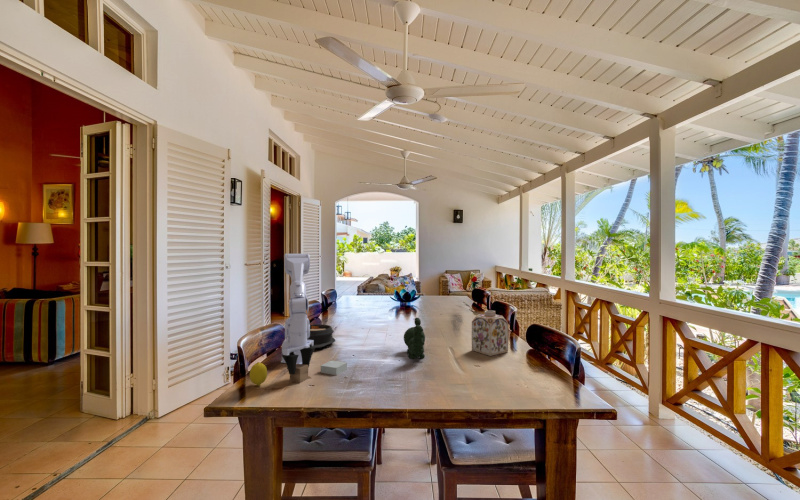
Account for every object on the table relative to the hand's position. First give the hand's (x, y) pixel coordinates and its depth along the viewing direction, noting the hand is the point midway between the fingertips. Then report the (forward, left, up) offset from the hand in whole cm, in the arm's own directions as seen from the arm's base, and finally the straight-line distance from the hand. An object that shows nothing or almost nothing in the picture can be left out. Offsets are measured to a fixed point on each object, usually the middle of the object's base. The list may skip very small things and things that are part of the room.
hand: (299, 370), depth 137 cm
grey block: (+6, +13, -4) cm, 15 cm away
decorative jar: (+55, +63, -4) cm, 84 cm away
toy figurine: (+27, +44, -4) cm, 52 cm away
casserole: (-23, +42, -4) cm, 48 cm away
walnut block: (0, 0, -3) cm, 3 cm away
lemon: (-9, -10, -4) cm, 14 cm away
